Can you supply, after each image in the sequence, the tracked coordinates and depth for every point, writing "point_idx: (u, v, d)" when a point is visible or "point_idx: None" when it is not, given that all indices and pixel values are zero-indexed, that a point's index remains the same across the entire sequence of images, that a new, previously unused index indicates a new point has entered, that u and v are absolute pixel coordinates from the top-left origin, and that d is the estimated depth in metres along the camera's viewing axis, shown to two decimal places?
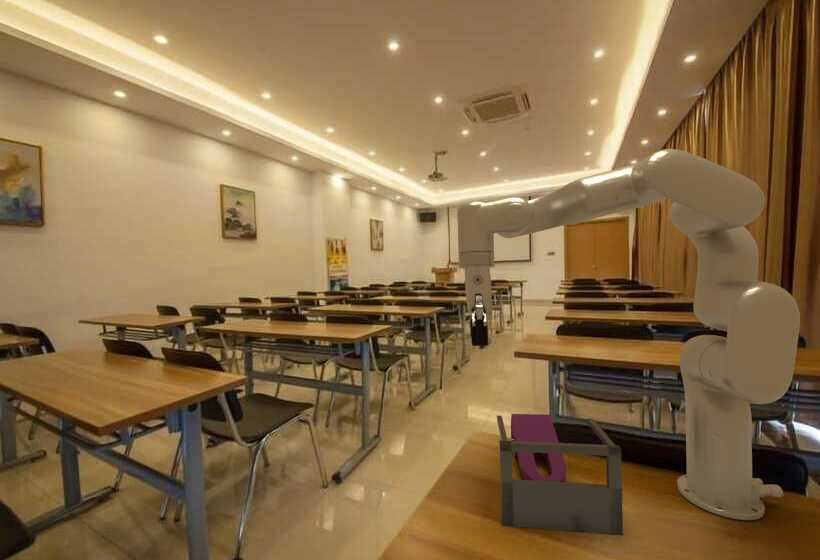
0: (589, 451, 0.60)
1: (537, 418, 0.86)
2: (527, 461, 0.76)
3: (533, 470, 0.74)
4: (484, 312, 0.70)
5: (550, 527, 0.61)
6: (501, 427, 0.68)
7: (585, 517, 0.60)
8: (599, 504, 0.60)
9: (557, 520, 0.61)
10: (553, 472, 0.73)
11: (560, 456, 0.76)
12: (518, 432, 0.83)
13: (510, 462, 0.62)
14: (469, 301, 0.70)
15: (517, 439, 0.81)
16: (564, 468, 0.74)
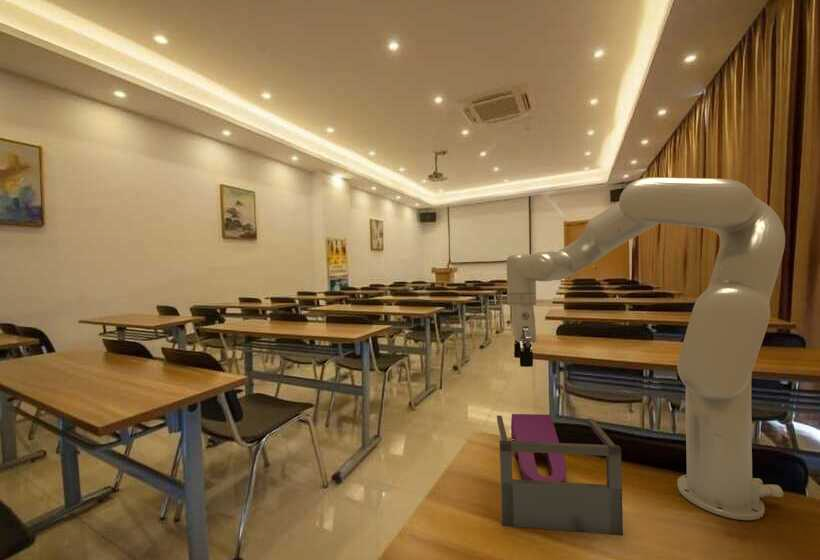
0: (589, 451, 0.60)
1: (537, 418, 0.86)
2: (527, 461, 0.76)
3: (533, 470, 0.74)
4: None
5: (550, 527, 0.61)
6: (501, 427, 0.68)
7: (585, 517, 0.60)
8: (599, 504, 0.60)
9: (557, 520, 0.61)
10: (553, 472, 0.73)
11: (560, 456, 0.76)
12: (518, 432, 0.83)
13: (510, 462, 0.62)
14: (518, 332, 0.91)
15: (517, 439, 0.81)
16: (564, 468, 0.74)
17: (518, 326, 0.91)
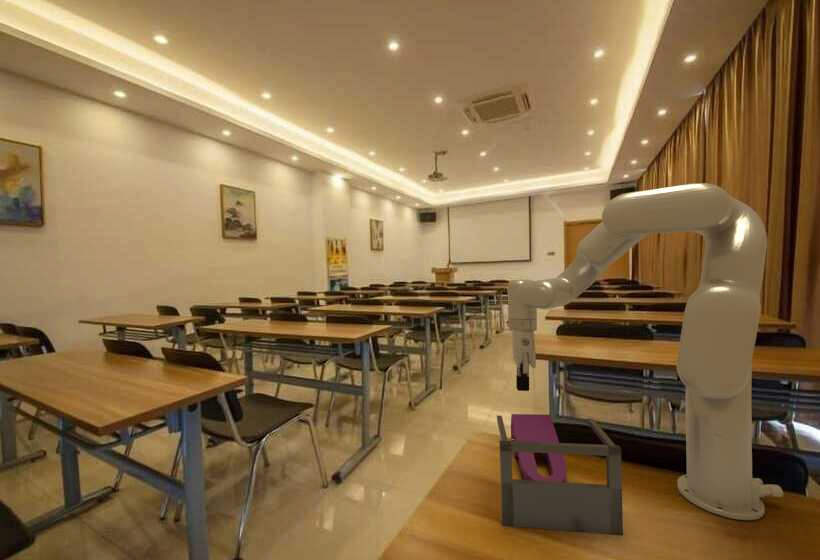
0: (589, 451, 0.60)
1: (537, 418, 0.86)
2: (528, 461, 0.76)
3: (533, 470, 0.74)
4: (528, 368, 0.94)
5: (550, 527, 0.61)
6: (501, 427, 0.68)
7: (585, 517, 0.60)
8: (599, 504, 0.60)
9: (557, 520, 0.61)
10: (554, 472, 0.73)
11: (561, 456, 0.76)
12: (518, 432, 0.83)
13: (510, 462, 0.62)
14: (518, 358, 0.92)
15: (517, 439, 0.81)
16: (565, 468, 0.74)
17: (518, 352, 0.91)
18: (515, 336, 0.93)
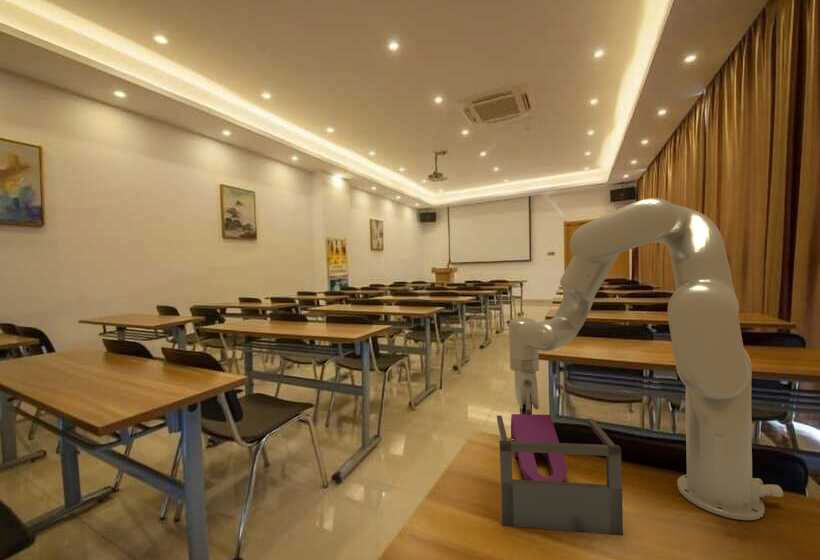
0: (589, 451, 0.60)
1: (537, 418, 0.86)
2: (528, 461, 0.76)
3: (533, 471, 0.74)
4: (531, 408, 0.94)
5: (550, 527, 0.61)
6: (501, 427, 0.68)
7: (585, 517, 0.60)
8: (599, 504, 0.60)
9: (557, 520, 0.61)
10: (554, 472, 0.73)
11: (561, 456, 0.76)
12: (518, 432, 0.83)
13: (510, 462, 0.62)
14: (521, 399, 0.91)
15: (517, 439, 0.81)
16: (565, 468, 0.74)
17: (521, 393, 0.91)
18: (517, 376, 0.93)
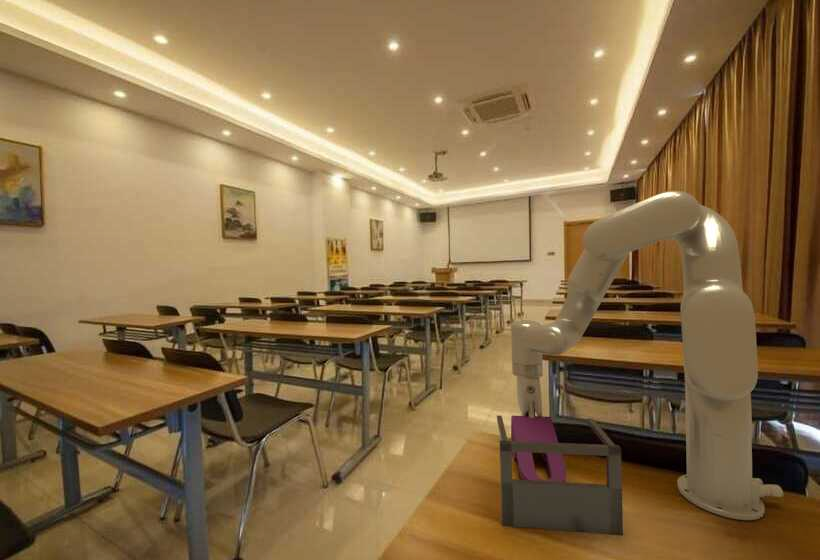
0: (589, 451, 0.60)
1: (537, 420, 0.85)
2: (526, 464, 0.75)
3: (532, 473, 0.73)
4: None
5: (550, 527, 0.61)
6: (501, 427, 0.68)
7: (585, 517, 0.60)
8: (599, 504, 0.60)
9: (557, 520, 0.61)
10: (552, 475, 0.72)
11: (560, 459, 0.75)
12: (517, 434, 0.82)
13: (510, 462, 0.62)
14: (523, 406, 0.86)
15: None
16: (564, 471, 0.73)
17: (523, 400, 0.86)
18: (520, 382, 0.88)
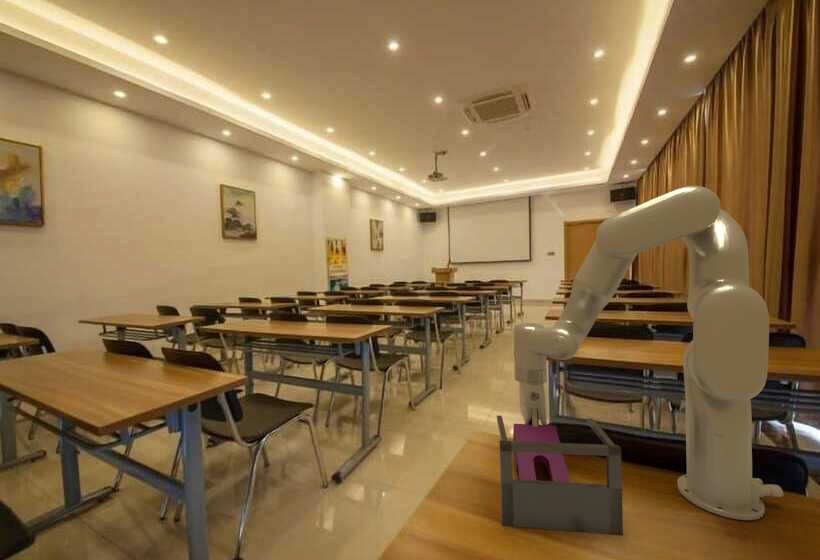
0: (589, 451, 0.60)
1: (541, 429, 0.80)
2: (527, 476, 0.71)
3: None
4: (537, 424, 0.84)
5: (550, 527, 0.61)
6: (501, 427, 0.68)
7: (585, 517, 0.60)
8: (599, 504, 0.60)
9: (557, 520, 0.61)
10: None
11: (564, 472, 0.70)
12: None
13: (510, 462, 0.62)
14: (526, 414, 0.81)
15: None
16: None
17: (526, 407, 0.81)
18: (523, 388, 0.83)
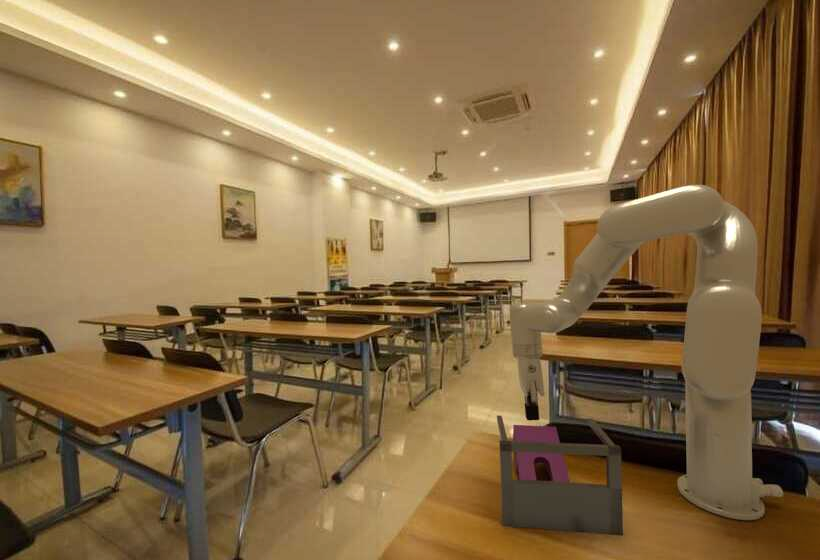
0: (589, 451, 0.60)
1: (541, 430, 0.79)
2: (528, 478, 0.70)
3: None
4: (536, 396, 0.89)
5: (550, 527, 0.61)
6: (501, 427, 0.68)
7: (585, 517, 0.60)
8: (599, 504, 0.60)
9: (557, 520, 0.61)
10: None
11: (565, 474, 0.70)
12: None
13: (510, 462, 0.62)
14: (525, 386, 0.87)
15: (518, 453, 0.75)
16: None
17: (525, 380, 0.87)
18: (520, 363, 0.89)
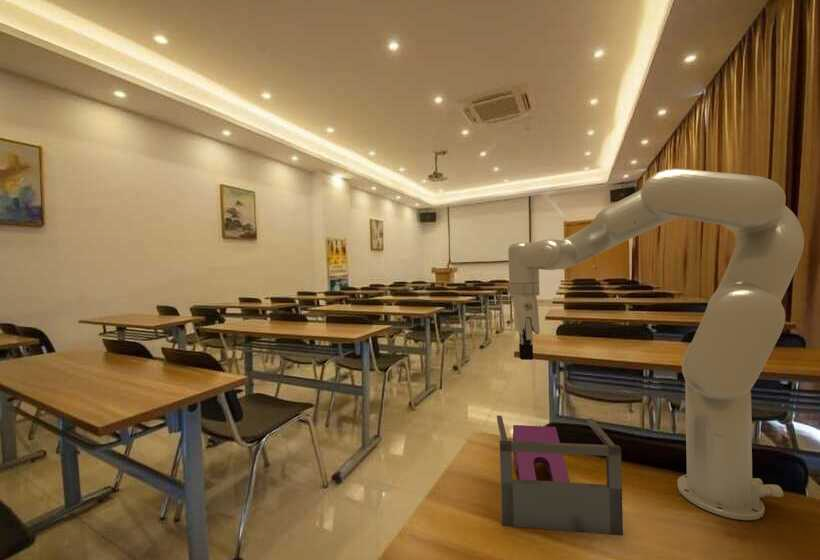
0: (589, 451, 0.60)
1: (541, 430, 0.79)
2: (528, 478, 0.70)
3: None
4: (531, 335, 0.89)
5: (550, 527, 0.61)
6: (501, 427, 0.68)
7: (585, 517, 0.60)
8: (599, 504, 0.60)
9: (557, 520, 0.61)
10: None
11: (565, 474, 0.70)
12: None
13: (510, 462, 0.62)
14: (520, 323, 0.87)
15: (518, 453, 0.75)
16: None
17: (520, 317, 0.87)
18: (517, 301, 0.89)
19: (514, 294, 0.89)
